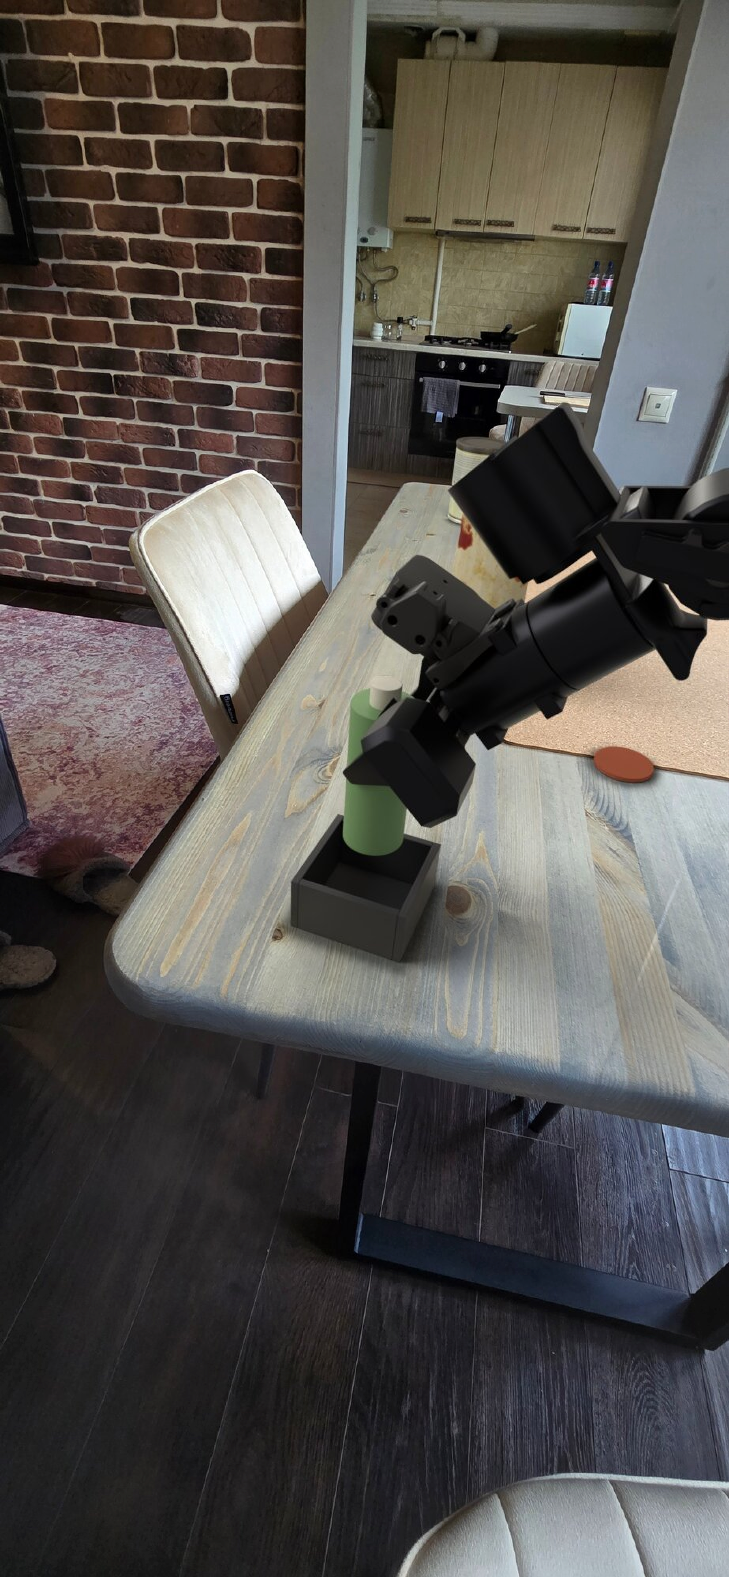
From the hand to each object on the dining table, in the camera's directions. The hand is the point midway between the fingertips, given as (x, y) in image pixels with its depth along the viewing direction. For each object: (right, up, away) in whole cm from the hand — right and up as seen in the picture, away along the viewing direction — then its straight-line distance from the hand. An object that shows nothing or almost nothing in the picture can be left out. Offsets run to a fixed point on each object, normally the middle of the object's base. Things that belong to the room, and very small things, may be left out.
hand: (360, 759), depth 50 cm
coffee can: (+22, +51, +96) cm, 111 cm away
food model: (+14, +12, +41) cm, 45 cm away
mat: (+27, 0, +26) cm, 38 cm away
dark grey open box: (0, -11, +7) cm, 13 cm away
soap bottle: (+1, -5, +3) cm, 6 cm away
